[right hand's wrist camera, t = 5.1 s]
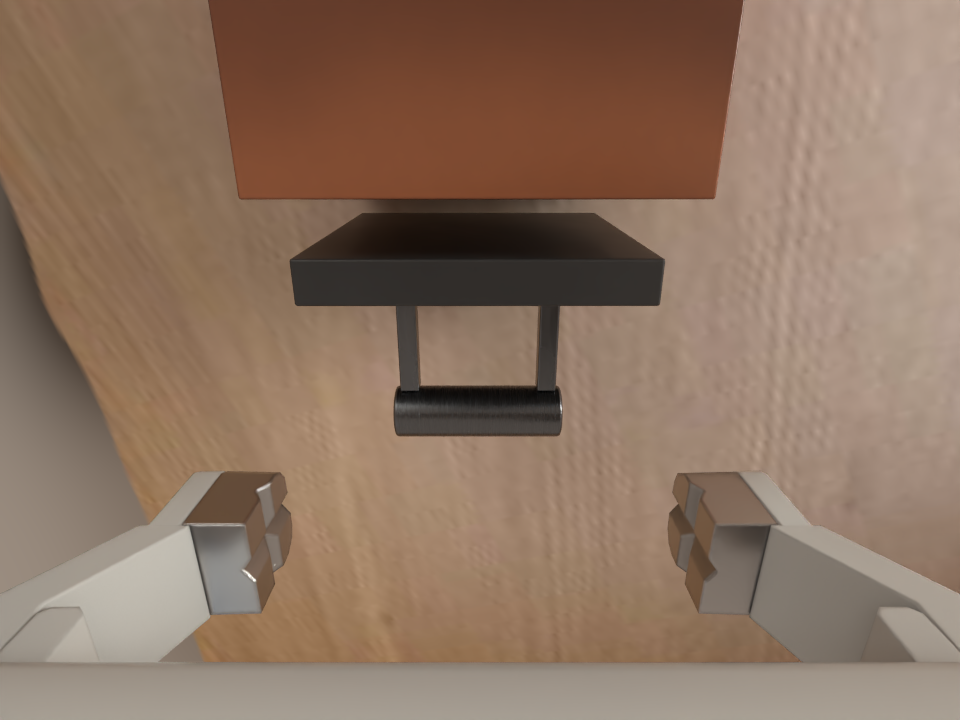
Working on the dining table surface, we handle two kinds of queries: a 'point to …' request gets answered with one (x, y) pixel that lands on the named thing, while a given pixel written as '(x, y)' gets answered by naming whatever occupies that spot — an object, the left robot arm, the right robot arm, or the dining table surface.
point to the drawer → (477, 297)
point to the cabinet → (476, 97)
